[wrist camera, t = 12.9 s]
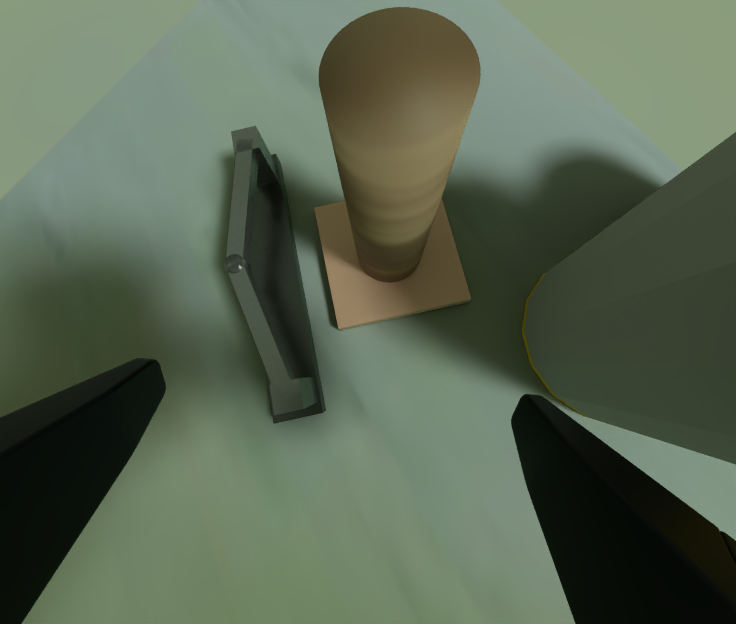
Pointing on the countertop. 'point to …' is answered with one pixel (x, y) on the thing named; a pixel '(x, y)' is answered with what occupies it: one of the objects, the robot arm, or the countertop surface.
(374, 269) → the tan wooden cylinder
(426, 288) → the terracotta tile
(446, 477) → the countertop surface
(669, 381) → the soap bottle
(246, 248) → the gray metal frame
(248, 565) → the countertop surface
